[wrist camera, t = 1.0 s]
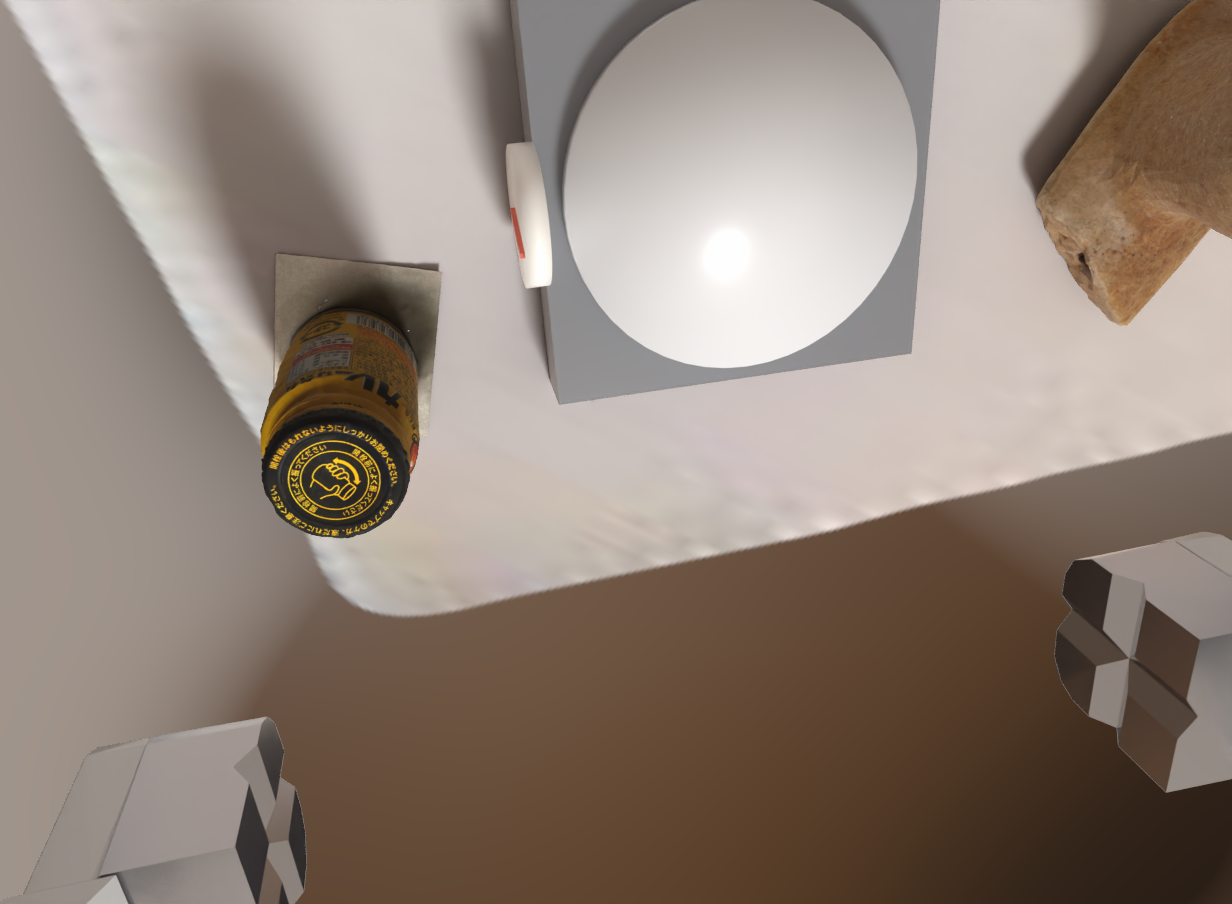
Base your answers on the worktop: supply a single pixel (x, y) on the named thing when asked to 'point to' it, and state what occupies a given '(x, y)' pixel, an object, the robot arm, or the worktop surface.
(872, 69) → the scale
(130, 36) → the worktop surface
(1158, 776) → the robot arm
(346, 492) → the condiment
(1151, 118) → the stone cup
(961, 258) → the worktop surface
